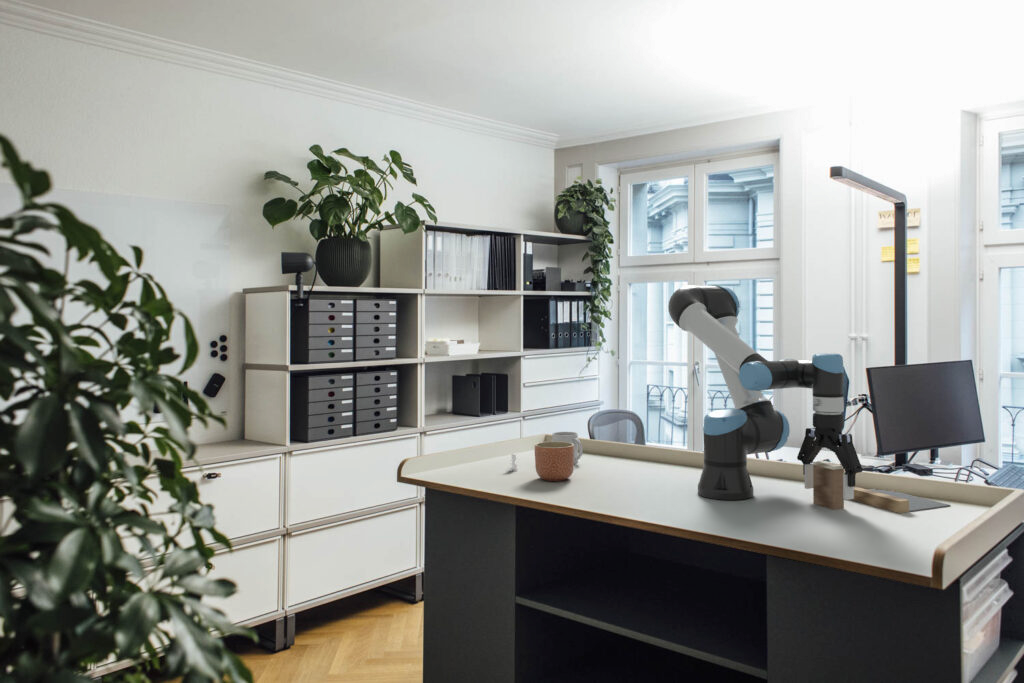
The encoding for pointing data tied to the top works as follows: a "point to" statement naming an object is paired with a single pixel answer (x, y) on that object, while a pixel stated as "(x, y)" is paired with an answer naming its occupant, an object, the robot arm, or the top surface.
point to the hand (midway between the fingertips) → (828, 493)
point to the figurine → (513, 464)
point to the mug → (570, 438)
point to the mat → (914, 500)
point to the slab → (828, 485)
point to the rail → (881, 500)
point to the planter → (554, 460)
